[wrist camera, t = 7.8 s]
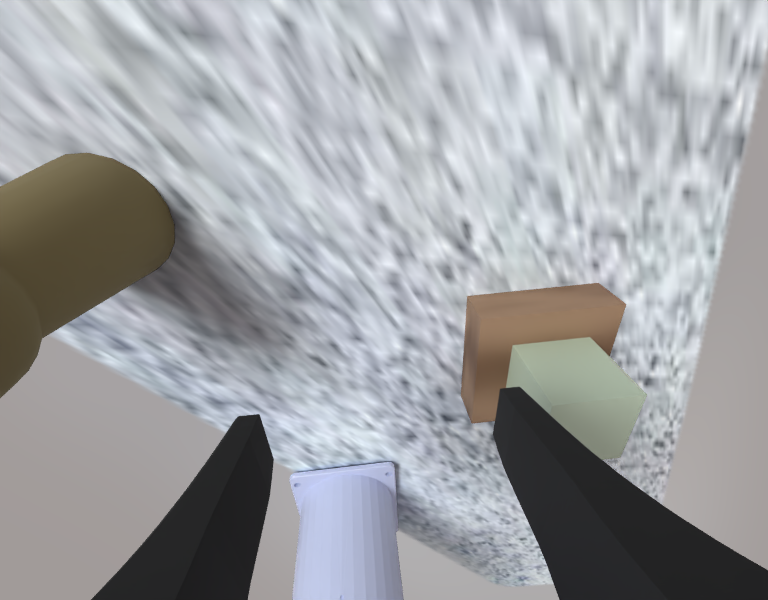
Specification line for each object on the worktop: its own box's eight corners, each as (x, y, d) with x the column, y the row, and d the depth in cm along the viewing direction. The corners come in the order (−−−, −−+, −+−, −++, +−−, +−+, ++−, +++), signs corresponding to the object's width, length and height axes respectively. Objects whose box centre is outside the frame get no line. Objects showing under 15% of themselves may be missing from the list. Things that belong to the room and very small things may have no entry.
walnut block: (567, 377, 26) (592, 409, 24) (459, 390, 26) (471, 423, 23) (593, 279, 22) (626, 304, 20) (465, 291, 22) (481, 319, 19)
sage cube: (573, 394, 23) (620, 457, 19) (503, 403, 23) (536, 468, 19) (589, 337, 21) (647, 394, 17) (512, 345, 20) (552, 405, 16)
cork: (141, 297, 20) (-50, 495, 10) (12, 227, 17) (-399, 400, 8) (198, 213, 18) (28, 358, 8) (61, 120, 15) (-405, 175, 6)
